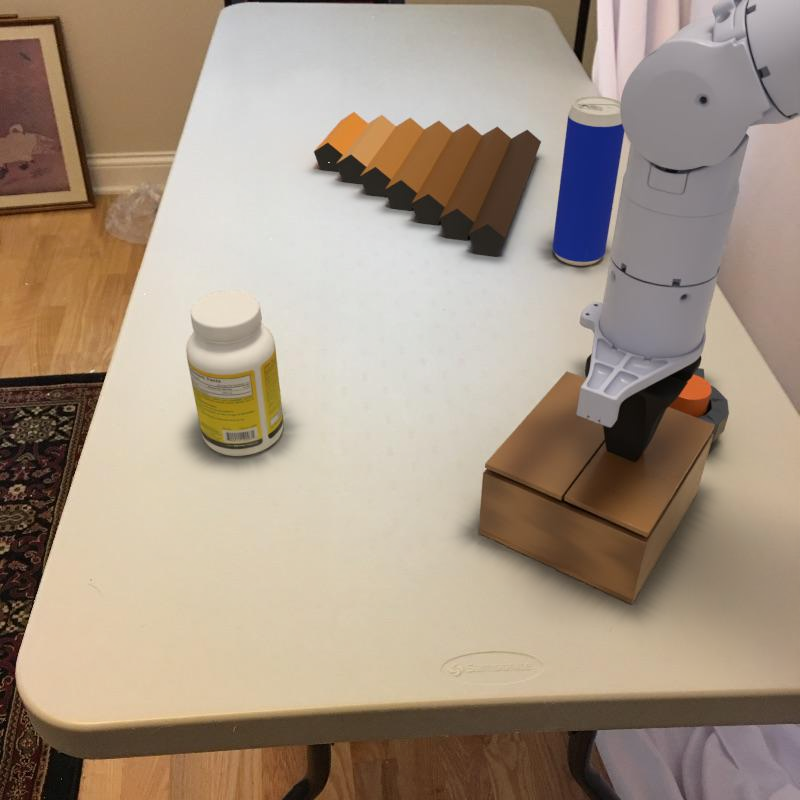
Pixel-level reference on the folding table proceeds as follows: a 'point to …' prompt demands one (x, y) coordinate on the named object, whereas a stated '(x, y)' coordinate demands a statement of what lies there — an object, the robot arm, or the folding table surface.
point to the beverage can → (588, 180)
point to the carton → (560, 520)
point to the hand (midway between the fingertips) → (625, 450)
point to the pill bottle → (234, 374)
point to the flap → (641, 474)
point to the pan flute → (436, 173)
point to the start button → (693, 397)
